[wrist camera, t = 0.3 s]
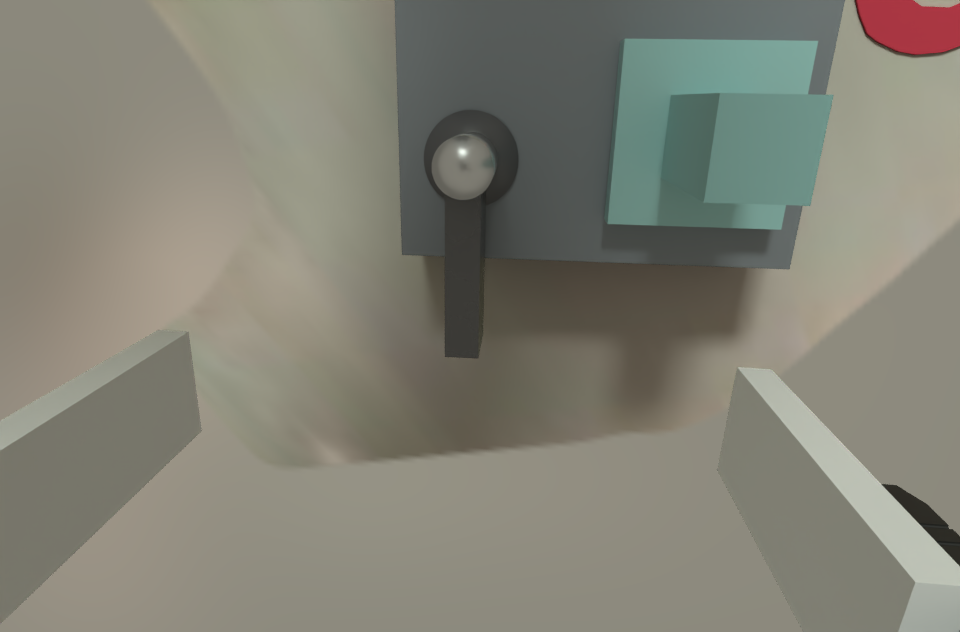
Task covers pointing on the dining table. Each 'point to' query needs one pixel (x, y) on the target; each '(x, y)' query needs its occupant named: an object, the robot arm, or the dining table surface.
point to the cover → (714, 132)
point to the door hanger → (910, 25)
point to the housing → (566, 119)
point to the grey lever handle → (464, 236)
